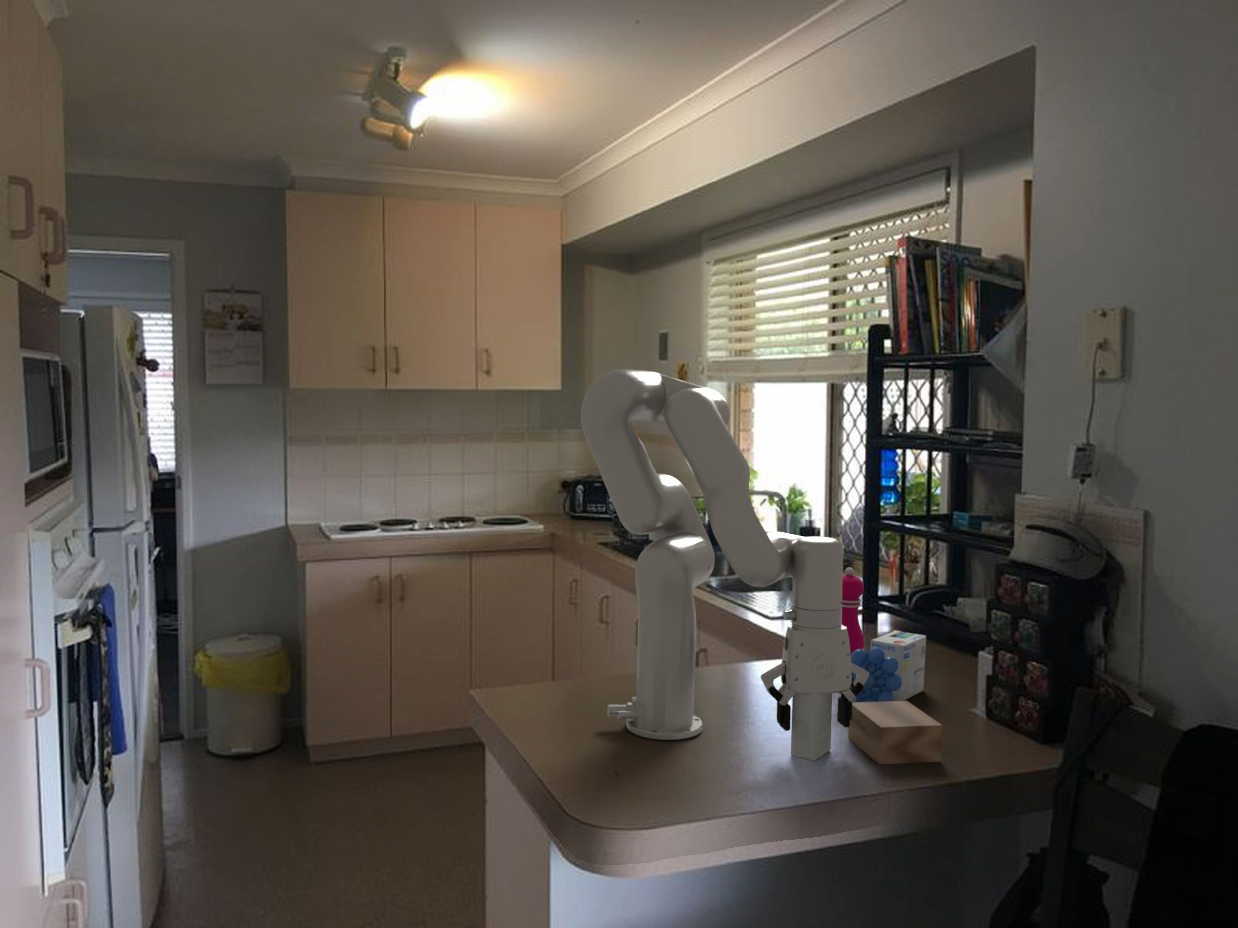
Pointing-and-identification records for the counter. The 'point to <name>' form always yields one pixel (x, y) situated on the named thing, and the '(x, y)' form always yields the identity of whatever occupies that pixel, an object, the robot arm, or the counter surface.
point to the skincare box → (811, 724)
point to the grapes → (876, 675)
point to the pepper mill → (852, 608)
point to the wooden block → (895, 732)
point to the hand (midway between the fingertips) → (814, 726)
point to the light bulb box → (905, 660)
